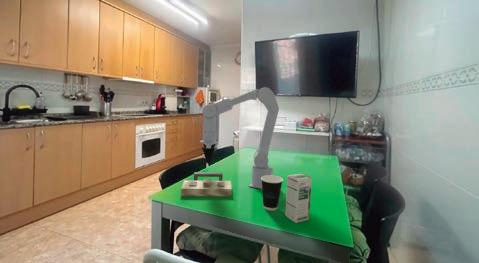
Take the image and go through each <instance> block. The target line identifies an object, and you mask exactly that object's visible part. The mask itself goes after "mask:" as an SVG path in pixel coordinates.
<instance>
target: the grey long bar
mask: <svg viewBox="0 0 479 263" xmlns="http://www.w3.org/2000/svg"><path fill="white" fill-rule="evenodd" d="M198 177H200V178H203V177H207V178H211V177H212V178H218V181H223V172H207V171H205V172H202V171H201V172H199V171H198V172H197V171H196V172H195V171H194V173H193V180H195V181H199V179H198Z"/></svg>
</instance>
